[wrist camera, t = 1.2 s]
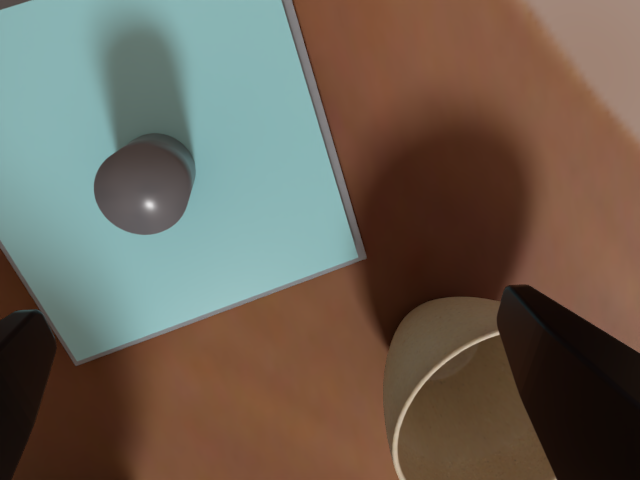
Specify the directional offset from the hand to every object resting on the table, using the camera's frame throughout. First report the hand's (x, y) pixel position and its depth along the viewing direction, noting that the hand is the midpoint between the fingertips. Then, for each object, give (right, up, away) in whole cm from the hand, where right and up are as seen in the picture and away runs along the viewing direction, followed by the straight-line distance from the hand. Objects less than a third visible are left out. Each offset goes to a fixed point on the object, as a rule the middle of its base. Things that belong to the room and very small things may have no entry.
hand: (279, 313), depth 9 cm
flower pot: (+7, -4, +17) cm, 19 cm away
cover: (-6, +5, +11) cm, 13 cm away
